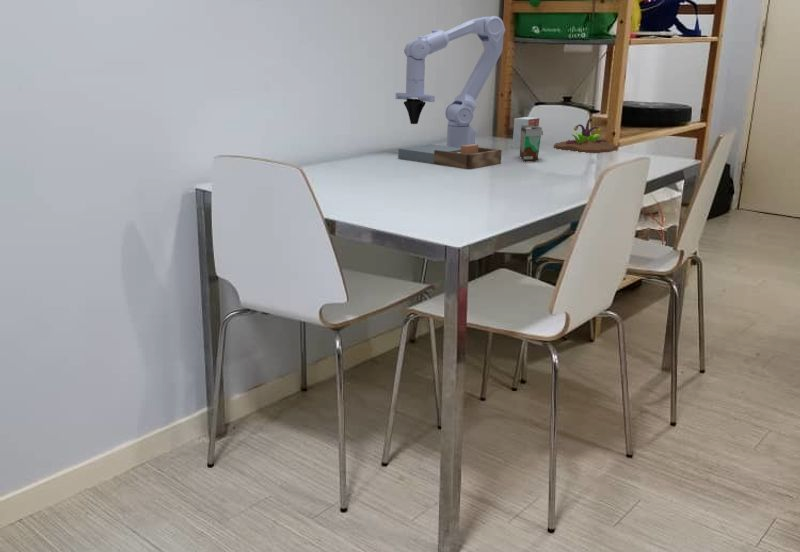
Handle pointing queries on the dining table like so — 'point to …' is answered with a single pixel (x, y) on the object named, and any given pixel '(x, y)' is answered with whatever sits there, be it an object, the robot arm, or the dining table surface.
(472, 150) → the terracotta tile
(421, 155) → the bench plate
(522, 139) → the food container
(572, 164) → the dining table surface
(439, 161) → the tray
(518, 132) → the small box
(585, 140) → the plant
